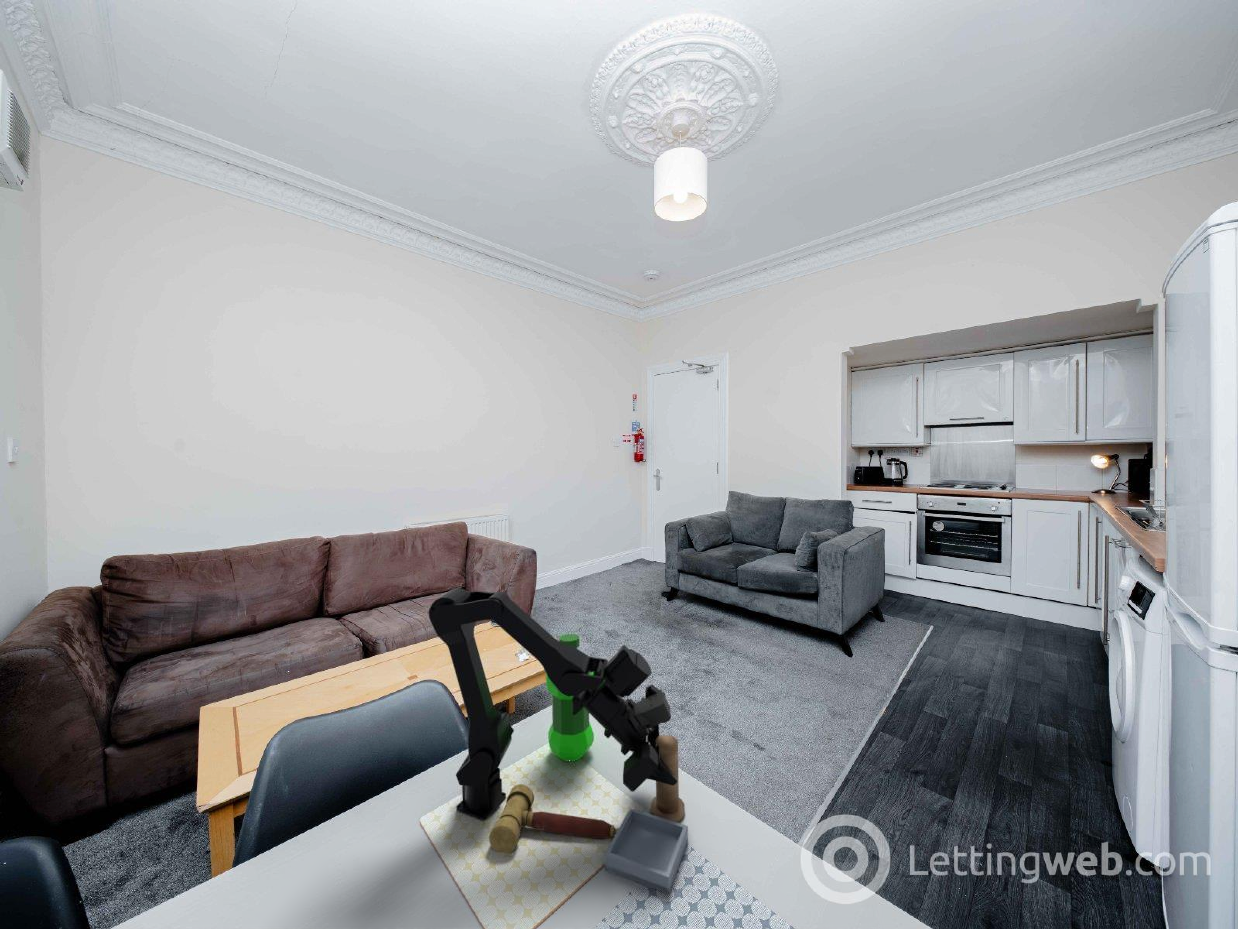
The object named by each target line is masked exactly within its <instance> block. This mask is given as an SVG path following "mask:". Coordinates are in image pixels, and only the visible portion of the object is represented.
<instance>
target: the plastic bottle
mask: <svg viewBox="0 0 1238 929" xmlns="http://www.w3.org/2000/svg"><path fill="white" fill-rule="evenodd" d="M558 641H560V642H562V643H566V644H569V645H572V646H573V647H575V648H576V649H578V648H579V647H580V636H579V635H578V634H574V633H566V634H562V635H561V636H559V640H558ZM593 674H594V672H591V673H590V675H593ZM545 683H546V686H547V692H548V694H549V693H550V694H551V710H552V711H551V713H552V716H551V717H552V723H551V725H550V727H549V730H548V734H547V735H548V736H547V737H548V746H549V748H550V750H551V752H552V753H553V754H554V755H555V756H557V757H558V758H559V759H561V758H562V759H563V761H564V760H568V761H567V762H571V761H573V762H575V761H574V760H576V761H578V760H580V759H581V758H582V757H584V756H585V754H586V753H587V752H588V750H590V748H591V747H592V746H593V743H594V740H595V735H594V731H593V727H592V725H591V721H590V713H589V712H588V711H587V710H586V709H585V708H584V707H583V708H582V709H581V710H580V711H579V712H578V713H577V714H576V715H573V714H572V712H573V703H572V697H573V696H570V697H568V696H565V695H563V694H561V693H560V692H559V691H558V689H557V688H556V687H555V686H554V684H553V683H552V682H551V681H550V679H549V678H548V676H547V674H546V673H545ZM562 759H561V760H562ZM569 760H570V761H569Z"/></svg>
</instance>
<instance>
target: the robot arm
mask: <svg viewBox="0 0 1238 929" xmlns="http://www.w3.org/2000/svg"><path fill="white" fill-rule="evenodd" d="M428 619H429V622H430V624H431V625H432V628H433V630H434V632H435V634H436V636H437V637H438V638H439V639H440V640H441V641H442V642H443V643H444V644H445V645H446V646H447V647H448V648H447V649H448V652H449V654H450V655H449V656H450V657H451V662H452V664H453V668H454V669H453V670H454V672H455V675H456V676H455V677H456V680H457V683H458V687H459V691H460V693H461V697H462V701H463V704H464V708H465V711H466V712H465V713H466V715H467V719H468V731H467V733H468V734H467V743H466V744H467V752H468V754H467V756H466V758H465V759H464V760H463V762H462V764H461V765H460V767H459V769H458V771H457V772H456V773H455V777H456V780H457V782H458V784H459V786H461V789H462V790H461V791H462V793H461V794H462V795H461V796H462V800H461V801H460V802H459V803H458V804H457V805H456V807H455V808H456V811H458V812H460V813H463V814H466V815H469V816H471V817H473V818H477V819H479V820H486V819H487V818H488V817H489V816H490V814H491V813H492V812H494V811H495V809H496V808H497V807H498V806H499V805H500V804H501V803H502V801H504V800H505V799H506V797H507V793H506V792H504V791H503V779H502V778H501V769H500V768H499V766H500V765H501V763H502V761H503V759H504V757H505V755H506V753H507V751H508V749H509V747H510V745H511V742H512V740H513V739H512V738H513V737H512V735H513V734H514V732H515V729H514V728H513V727H512V725H511V722H510V714H509V712H508V711H506V712H503V713H500V712H499V711H498V710H497V708H496V707H495V705H494V701H493V698H492V695H491V692H490V688H489V684H488V681H487V677H486V674H485V670H484V667H483V663H482V660H481V656H480V655H481V654H480V652H479V648H478V645H477V642H476V637H475V624H476V622H482V621H488V620H489V621H490V620H491V621H493V622H494V623H495V624H496V625H497V626H499V628H500V629H502V630H503V631H504V632H505V633H506V634H508V635H509V636H510V637H511V638H512V639H513V640H514V641H516V642H517V643H518V644H519V645H520V646H521V647H522V648H523V649H524V650H526V651H527V652H528V653H529V655H531V656H532V657H534V658H535V659H536V660H537V661H538V663H540V665H541V666H542V668H543V670H544V672H545V675H546V674H547V676H548V678H549V679H550V681H551V682H552V683H553V684H554V686H555V687H556V688H557V689H558V691H559V692H560V693H561V694H563V695H565V696H568V697H570V696H573V697H572V703H573V712H572V714H573V715H576V714H577V713H578V712H579V711H580V710H581V709H582V708H583V707H584V708H585V709H586V710H587V711H588V712H589V715H591V717H592V718H594V720H596V721H597V723H598V724H600V725H601V727H603V729H604V733H603V735H604V737H606V738H607V739H610V737H612V738H613V739H614V740H616V742H617V743H618V744H619V745H620V752H621V754H622V755H624V756H626V755H628V754H629V752H631V755H630V756H629V757H628V758H627V759H626V760H624V761H623V768H622V769H623V770H622V771H623V772H622V784H623V785H624V786H625V788H627V789H628V790H629V792H631V793H634V792H635V791H636V790H637V789H638V788H640V787H641V785H642V784H643V783H644V782H646V781H647V780H651V781H655V782H656V781H658V782H662V783H665V784H669V785H672V786H674V785H675V784H676V783H677V779H676V777H675V776H674V775H673V773H672V772H671V771H670V769H669V768H668V767H667V765H666V764H665V763H664V762H663V760H662V759H661V758H660V746H659V745H658V746H657V747H655V741H656V738H657V737H659V736H661V735H660V725H661V724H666V723H668V722H669V721H670V720H671V719H672V714H671V706H670V704H669V702H668V700H667V697H666V693H665V692H663V691H662V689H661V688H660V689H659V688H657V687H656V686H655V685H654V684H650V685H648V686H646V687H645V696H643V697H641V700H640V701H638V702H636V701H634V700H633V699H631V698H626V700H625V699H624V698H625V697H630V696H631V695H632V694H633V692H635V691H636V690H637V689H638V688H639V687H640V686H641V685H642V684H643V683H644V682H645V681H646V680H647V679H648V678H649V677H650V676H651V675H652V668H651V667H650V665H649V663H648V661H647V660H646V659H645V657H643V655H641V653H640V652H637V651H636V650H634V649H632V648H628V646H626V645H625V644H622V645H621V647H620V648H619V649H618V650H617V652H616V653H615V654H614V655H613V656H612V658H611V659H609V660H608V659H605V658H601V657H596V656H595V657H594V656H588V655H587V654H586V653H585V652H583V651H581V650H580V649H578V648H577V649H576V648H575V647H573V646H572V645H569V644H566V643H562V642H560V641H559V640H558V639H556V638H555V637H554V636H553V635H552V634H550V632H548V631H547V630H546V629H545V628H544V627H543V626H541V624H539V623H538V622H537V621H536V620H535V619H534V618H533V617H531V616H530V615H529V614H528V613H527V612H525V611H524V610H523V609H522V608H521V607H520V606H518V605H517V603H515V601H513V600H512V599H511V598H510V596H509V595H508V594H507V593H506V592H504V591H503V592H502V591H494V592H491V591H490V592H489V591H482V590H475V591H474V590H473V591H467V590H466V589H463V588H461V587H458V588H453V589H451V590H449V591H448V592H445V594H443V595H441V596H440V597H438V598H437V599H435V601H433V602H432V604H431V605H430V607H429V608H428ZM591 672H594V674H593V675H590V673H591Z"/></svg>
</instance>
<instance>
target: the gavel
mask: <svg viewBox="0 0 1238 929" xmlns="http://www.w3.org/2000/svg"><path fill="white" fill-rule="evenodd" d="M534 801H535V794H534V792H533V790H532V789H531V787H529V786H528V785H525V784H522V783H521V784H516V785H514V786H513V787H512V788H511V790H510V792H509V794H508V796H507V798H506V804H505V805H504V808H503V810H502V813H501V815H500V816H499V817H498V819H497V820H496V821H495V823H494V825H493V827H492V828H491V831H490V832H489V836H488V838H489V839H488V841H489V844H490V846H491V848H492V849H493V850H494V851H495V852H496V853H506V854H509V853H511V852H513V851H514V850H515V848H516V846H517V844H518V841H519V838H520V837H521V830H522V829H521V828H524V827H525V828H526V827H527V828H531V829H533V830H537V831H540V832H541V831H542V832H548V833H556V834H563V835H569V836H576V837H583V838H590V839H595V840H596V839H598V840H602V839H603V840H604V839H606V838H607V839H608V838H614V836H615V835H616V833H617V831H618V829H619V827H617V828H615V825H613V824H610V823H609V822H607V821H605V820H603V819H597V818H589V817H583V816H575V815H568V814H560V813H554V812H547V811H531V809H532V807H533V804H534Z"/></svg>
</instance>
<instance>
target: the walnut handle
mask: <svg viewBox="0 0 1238 929" xmlns="http://www.w3.org/2000/svg"><path fill="white" fill-rule="evenodd" d="M658 745H659V746H660V758H661V759H662V760H663V762H664V763H665V764H666V765H667V767H668V768H669V769H670V771H671V772H672V773H673V775H674V776H675V777H676V779H677V783H676V784H675V785H674V786H672V785H669V784H665V783H662V782H658V781H655V797H653V798H652V800H651V802H650V814H651V815H655V816H658V817H661V818H664V819H667V820H670V821H674V822H677V823H680V822H681V821H682V820H683V819H684V817H685V803H684V801H683V799H681V798H680V793H679V792H680V790H679V784H680V781H679V742H678V739H677V738H676V737H675V736H672V735H670V734H663V735H660V736H659V737H657V738H656V741H655V747H657V746H658Z"/></svg>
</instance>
